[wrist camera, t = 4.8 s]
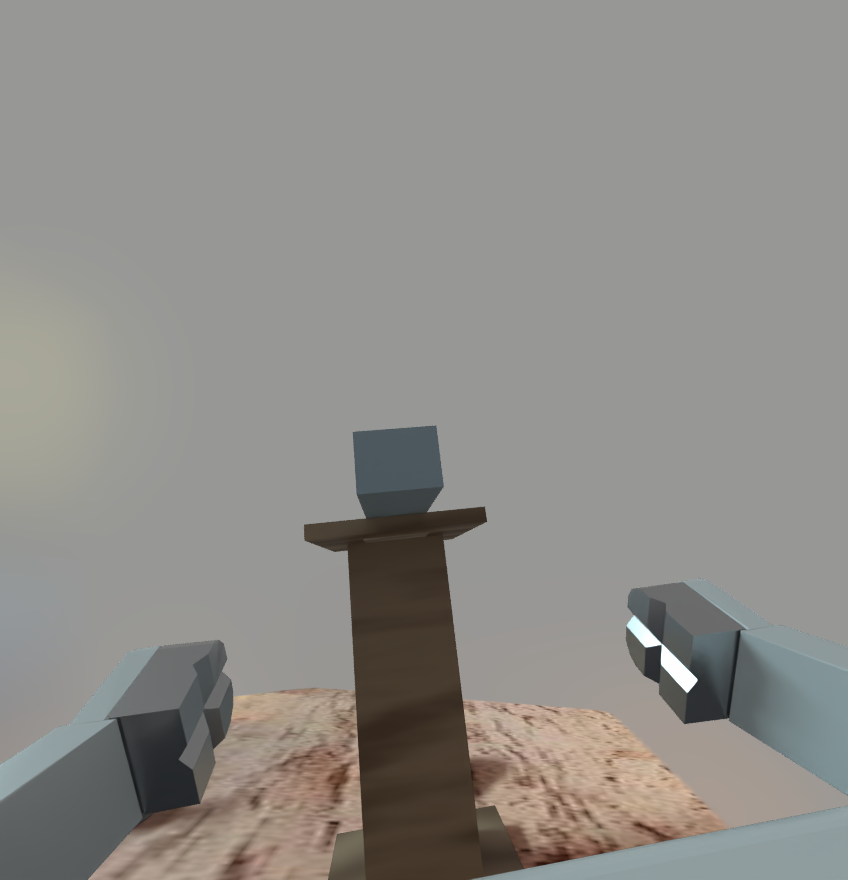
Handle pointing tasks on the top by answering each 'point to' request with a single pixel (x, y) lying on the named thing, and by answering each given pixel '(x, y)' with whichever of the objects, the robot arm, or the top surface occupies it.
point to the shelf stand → (410, 707)
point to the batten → (397, 470)
